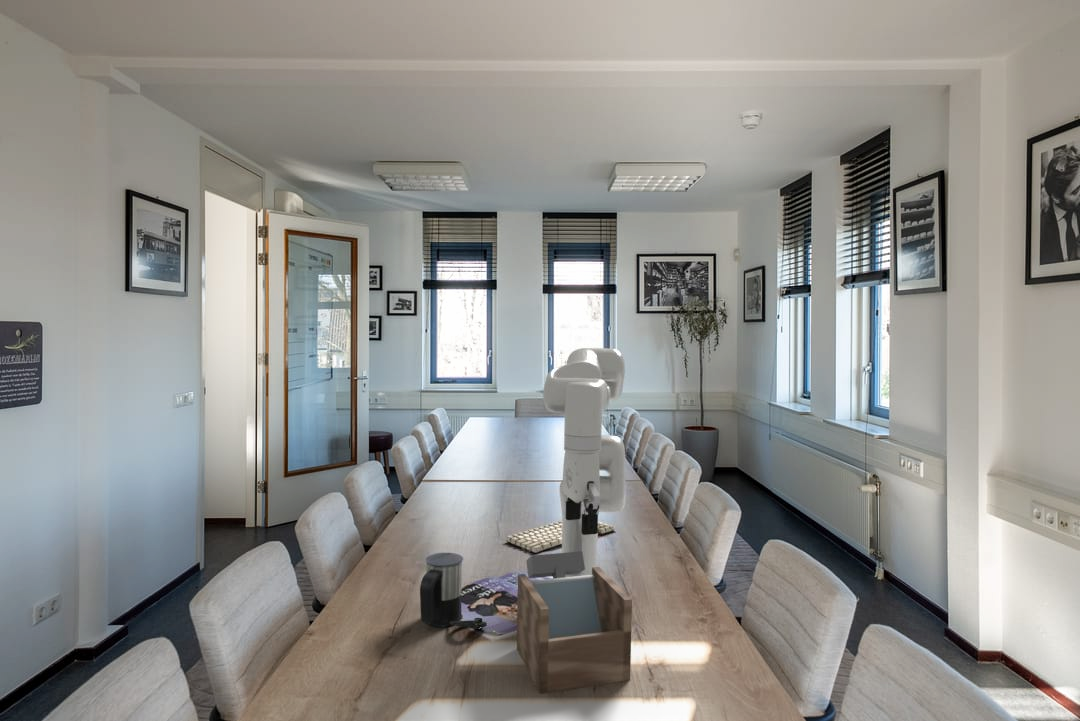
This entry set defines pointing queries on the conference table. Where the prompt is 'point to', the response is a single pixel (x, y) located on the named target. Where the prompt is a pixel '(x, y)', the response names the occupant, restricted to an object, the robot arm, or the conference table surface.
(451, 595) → the milk frother
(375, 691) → the conference table surface
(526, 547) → the mechanical keyboard
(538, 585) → the trapdoor
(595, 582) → the stand
